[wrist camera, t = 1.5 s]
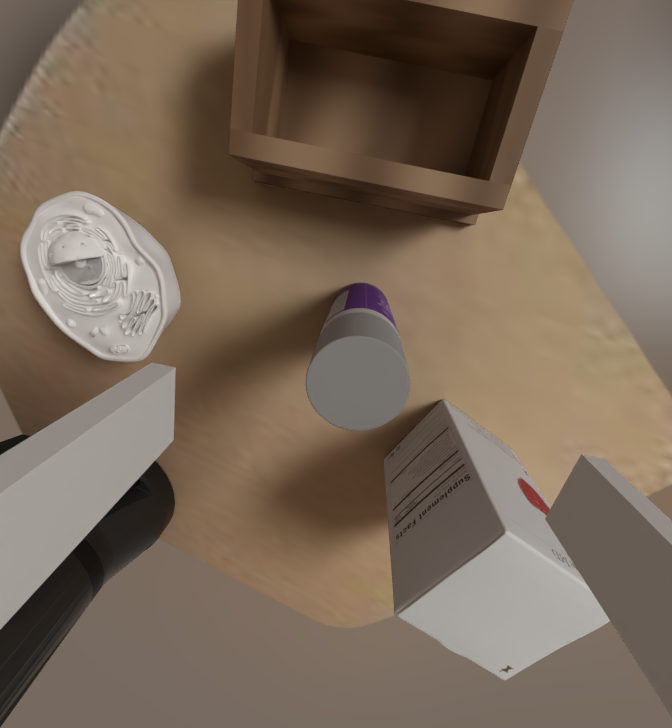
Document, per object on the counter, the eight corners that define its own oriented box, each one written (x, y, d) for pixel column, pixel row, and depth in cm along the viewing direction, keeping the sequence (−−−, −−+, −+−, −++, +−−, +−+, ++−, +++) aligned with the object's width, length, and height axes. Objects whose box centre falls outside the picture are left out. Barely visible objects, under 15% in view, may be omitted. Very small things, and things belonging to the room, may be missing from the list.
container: (400, 303, 28) (437, 373, 14) (367, 347, 29) (371, 451, 15) (352, 270, 27) (341, 310, 13) (322, 318, 29) (282, 398, 15)
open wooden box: (256, 181, 25) (219, 163, 19) (271, 8, 22) (232, -89, 15) (471, 225, 25) (508, 222, 19) (522, 59, 22) (591, -16, 15)
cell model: (113, 351, 32) (50, 381, 25) (54, 212, 27) (-39, 206, 21) (215, 336, 30) (176, 363, 24) (169, 187, 26) (107, 172, 20)
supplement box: (515, 449, 32) (633, 616, 18) (448, 506, 35) (505, 687, 21) (442, 395, 30) (509, 531, 17) (379, 459, 33) (390, 620, 20)
